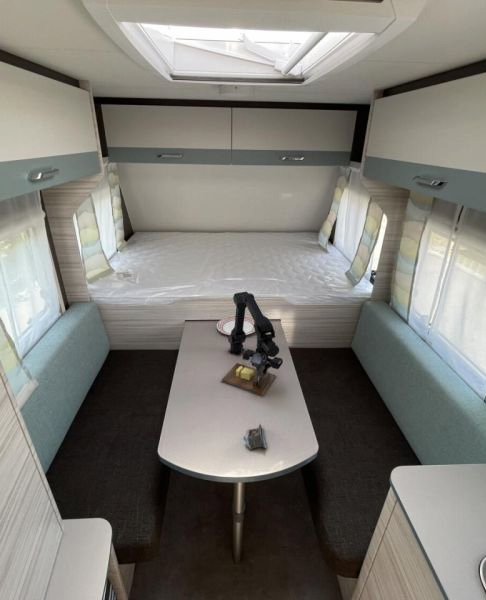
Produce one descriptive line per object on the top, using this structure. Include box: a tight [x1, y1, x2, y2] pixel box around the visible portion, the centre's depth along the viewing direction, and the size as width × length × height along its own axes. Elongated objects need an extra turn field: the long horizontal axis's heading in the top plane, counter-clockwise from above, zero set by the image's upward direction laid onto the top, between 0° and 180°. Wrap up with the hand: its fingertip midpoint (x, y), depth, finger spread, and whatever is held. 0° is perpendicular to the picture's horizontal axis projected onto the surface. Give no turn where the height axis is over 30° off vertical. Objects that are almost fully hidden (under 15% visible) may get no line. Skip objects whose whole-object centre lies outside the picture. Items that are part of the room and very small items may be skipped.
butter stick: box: [241, 368, 254, 380], centre depth 163 cm, size 5×4×3 cm
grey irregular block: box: [244, 423, 267, 450], centre depth 127 cm, size 10×7×12 cm
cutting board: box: [221, 362, 276, 396], centre depth 163 cm, size 22×16×4 cm
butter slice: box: [236, 366, 243, 377], centre depth 165 cm, size 2×4×3 cm, turn 152°
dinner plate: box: [216, 315, 256, 336], centre depth 212 cm, size 27×27×3 cm
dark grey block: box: [257, 366, 265, 383], centre depth 159 cm, size 3×8×8 cm, turn 152°
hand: (261, 373), depth 158 cm, fingers closed on dark grey block, 3 cm apart
